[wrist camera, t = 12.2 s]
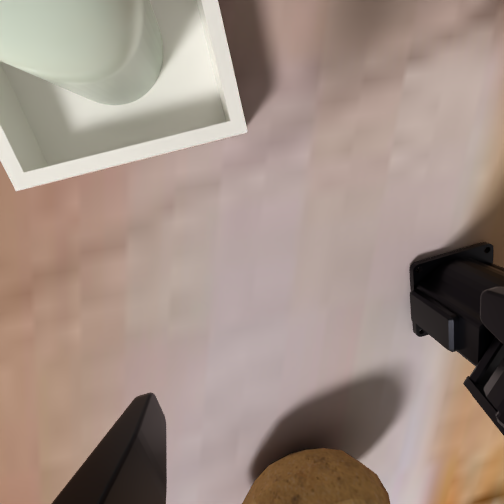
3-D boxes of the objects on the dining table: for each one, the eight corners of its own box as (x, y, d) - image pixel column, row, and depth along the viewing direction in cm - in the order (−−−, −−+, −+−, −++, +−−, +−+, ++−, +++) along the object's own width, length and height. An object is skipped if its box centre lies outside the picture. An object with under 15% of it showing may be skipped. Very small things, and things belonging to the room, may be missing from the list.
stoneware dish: (180, -120, 14) (174, -192, 11) (240, 134, 18) (247, 132, 15) (-72, -71, 13) (-150, -134, 10) (48, 183, 17) (15, 190, 14)
